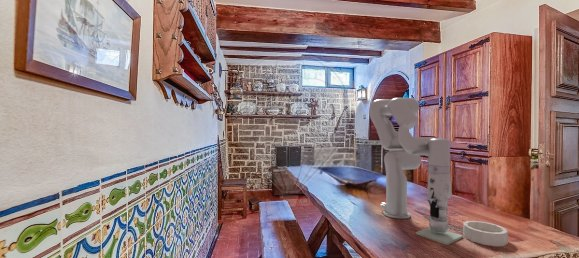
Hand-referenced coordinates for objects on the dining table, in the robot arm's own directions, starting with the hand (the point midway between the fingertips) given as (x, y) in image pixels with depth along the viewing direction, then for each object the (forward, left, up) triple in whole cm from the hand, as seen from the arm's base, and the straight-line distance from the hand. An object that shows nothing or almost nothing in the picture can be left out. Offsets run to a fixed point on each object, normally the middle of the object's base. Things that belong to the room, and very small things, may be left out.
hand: (438, 215), depth 105 cm
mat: (0, 0, -8) cm, 8 cm away
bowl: (+11, +12, -8) cm, 18 cm away
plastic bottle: (0, 0, -7) cm, 7 cm away
